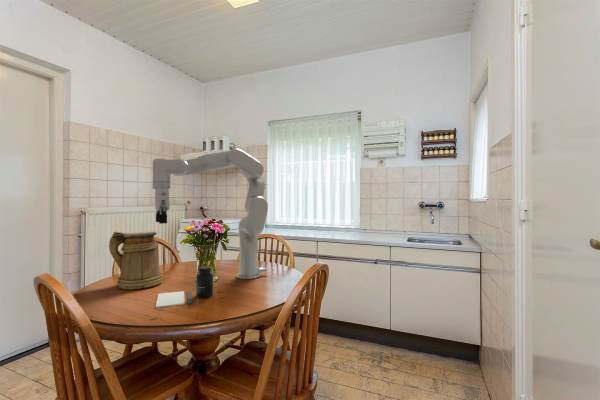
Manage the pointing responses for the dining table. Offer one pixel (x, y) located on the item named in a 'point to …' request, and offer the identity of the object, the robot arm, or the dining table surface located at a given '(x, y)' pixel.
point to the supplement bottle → (204, 282)
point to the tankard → (136, 259)
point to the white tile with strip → (172, 299)
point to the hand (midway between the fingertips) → (161, 222)
